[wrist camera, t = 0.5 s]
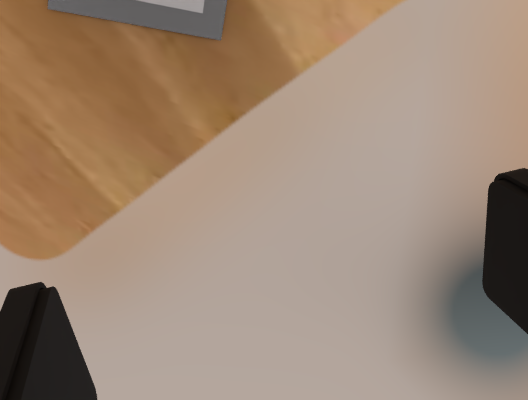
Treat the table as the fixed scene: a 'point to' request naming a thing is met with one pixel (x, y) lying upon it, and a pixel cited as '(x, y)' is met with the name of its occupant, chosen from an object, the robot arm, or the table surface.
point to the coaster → (154, 14)
